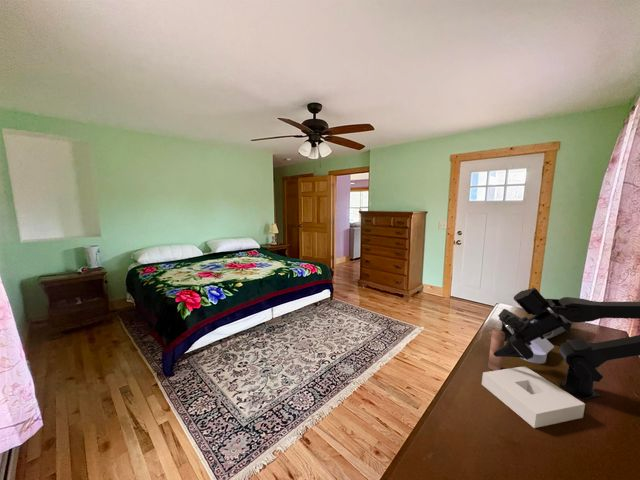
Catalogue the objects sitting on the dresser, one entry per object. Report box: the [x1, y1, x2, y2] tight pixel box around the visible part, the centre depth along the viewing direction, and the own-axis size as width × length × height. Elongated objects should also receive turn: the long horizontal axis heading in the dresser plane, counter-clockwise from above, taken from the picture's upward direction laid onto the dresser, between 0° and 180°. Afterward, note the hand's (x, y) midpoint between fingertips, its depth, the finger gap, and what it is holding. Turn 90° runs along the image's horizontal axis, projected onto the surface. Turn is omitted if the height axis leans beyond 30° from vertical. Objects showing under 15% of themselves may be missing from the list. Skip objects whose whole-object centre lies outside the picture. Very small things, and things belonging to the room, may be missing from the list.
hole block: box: [481, 365, 586, 429], centre depth 73 cm, size 16×16×4 cm
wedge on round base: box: [523, 337, 555, 365], centre depth 96 cm, size 9×7×13 cm
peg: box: [487, 329, 505, 371], centre depth 87 cm, size 4×4×13 cm
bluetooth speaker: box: [544, 309, 575, 340], centre depth 111 cm, size 23×9×10 cm, turn 120°
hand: (492, 348), depth 87 cm, fingers open, 9 cm apart
